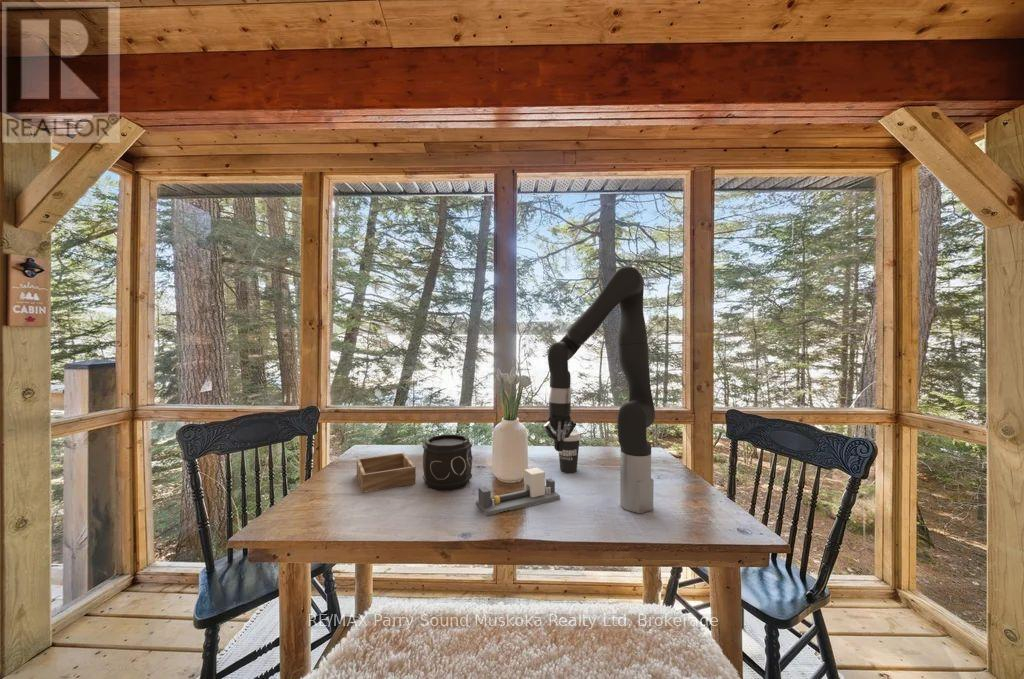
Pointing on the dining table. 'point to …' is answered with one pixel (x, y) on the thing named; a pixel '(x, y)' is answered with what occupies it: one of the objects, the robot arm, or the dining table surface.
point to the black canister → (447, 462)
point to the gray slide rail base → (513, 499)
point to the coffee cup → (570, 453)
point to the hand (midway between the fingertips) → (558, 450)
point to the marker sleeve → (534, 481)
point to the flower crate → (385, 471)
